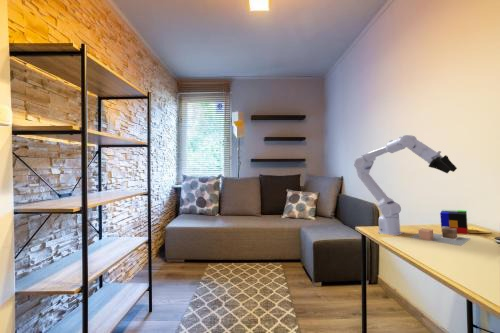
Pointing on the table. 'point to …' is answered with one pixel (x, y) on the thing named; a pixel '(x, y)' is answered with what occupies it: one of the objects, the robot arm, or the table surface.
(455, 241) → the mat
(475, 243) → the table surface
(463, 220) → the puzzle toy
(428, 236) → the terracotta block
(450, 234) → the walnut block
